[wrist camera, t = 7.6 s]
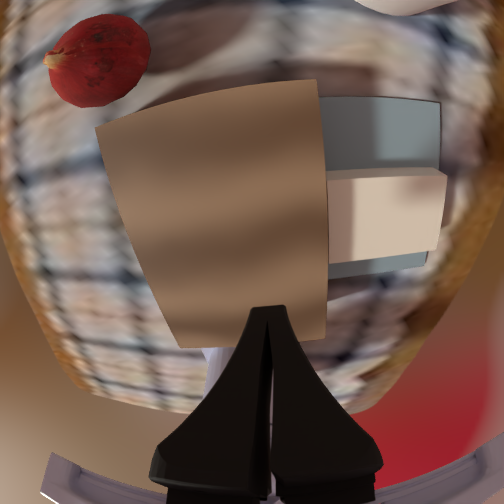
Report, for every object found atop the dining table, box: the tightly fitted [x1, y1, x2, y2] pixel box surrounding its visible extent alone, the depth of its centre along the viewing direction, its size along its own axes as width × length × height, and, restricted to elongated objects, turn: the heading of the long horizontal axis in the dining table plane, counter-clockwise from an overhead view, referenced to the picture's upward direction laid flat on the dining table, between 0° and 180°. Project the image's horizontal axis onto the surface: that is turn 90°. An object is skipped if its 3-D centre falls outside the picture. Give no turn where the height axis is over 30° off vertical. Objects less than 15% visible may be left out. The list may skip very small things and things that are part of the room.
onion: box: [43, 14, 151, 108], centre depth 10 cm, size 6×6×8 cm
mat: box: [319, 97, 440, 279], centre depth 18 cm, size 14×10×1 cm
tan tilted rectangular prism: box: [325, 167, 447, 264], centre depth 17 cm, size 6×9×2 cm, turn 100°
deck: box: [95, 79, 328, 348], centre depth 18 cm, size 18×12×4 cm, turn 9°
